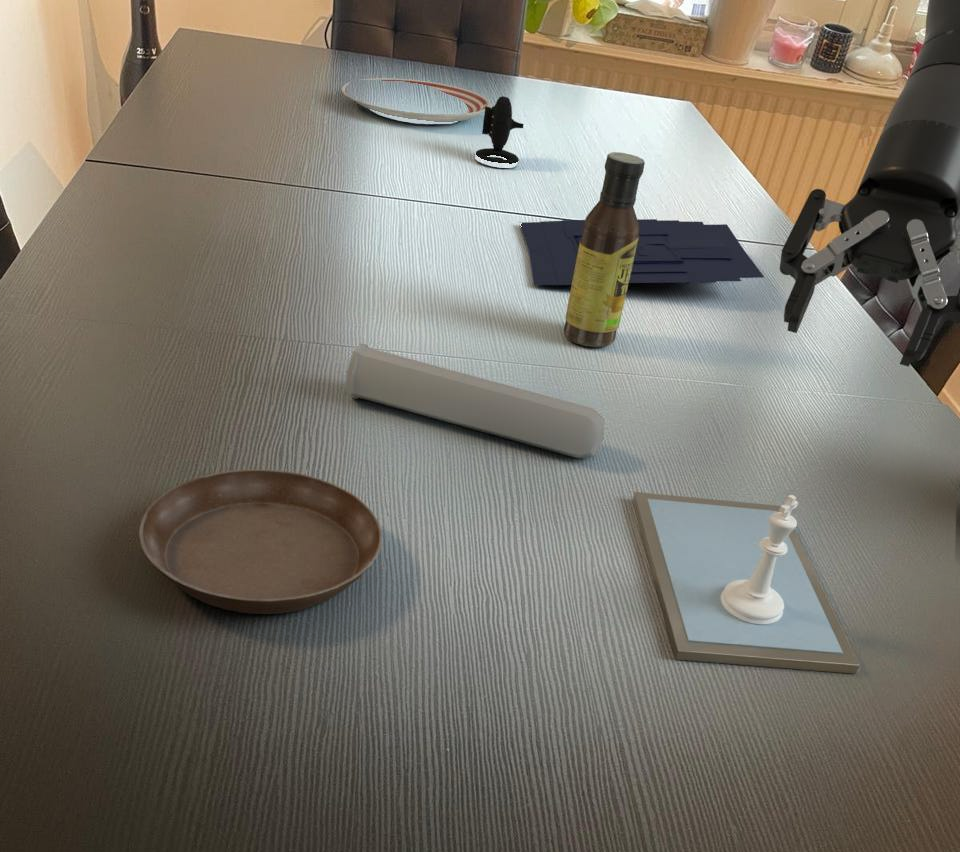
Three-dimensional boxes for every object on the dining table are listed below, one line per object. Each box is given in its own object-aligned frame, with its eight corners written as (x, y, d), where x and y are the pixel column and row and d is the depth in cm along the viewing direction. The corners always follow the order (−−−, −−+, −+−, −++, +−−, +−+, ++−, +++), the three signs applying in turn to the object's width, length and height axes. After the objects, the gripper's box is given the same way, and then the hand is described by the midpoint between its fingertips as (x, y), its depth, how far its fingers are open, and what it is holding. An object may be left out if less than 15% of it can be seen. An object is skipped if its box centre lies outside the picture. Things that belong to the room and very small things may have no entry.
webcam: (474, 153, 174) (482, 88, 167) (518, 159, 174) (527, 95, 168) (472, 165, 168) (480, 99, 161) (517, 172, 168) (527, 106, 162)
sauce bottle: (612, 355, 116) (653, 171, 104) (558, 344, 117) (593, 159, 104) (617, 334, 121) (657, 155, 109) (566, 323, 122) (599, 144, 109)
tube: (614, 407, 97) (370, 342, 101) (607, 413, 92) (351, 344, 96) (599, 462, 99) (361, 395, 103) (592, 470, 94) (341, 400, 98)
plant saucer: (226, 476, 86) (225, 444, 85) (416, 539, 83) (419, 507, 81) (91, 584, 73) (86, 549, 71) (310, 664, 70) (311, 630, 68)
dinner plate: (316, 110, 181) (316, 90, 179) (375, 85, 202) (377, 66, 200) (460, 144, 177) (462, 123, 175) (506, 114, 198) (509, 95, 196)
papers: (764, 304, 131) (770, 276, 129) (532, 307, 130) (534, 278, 128) (720, 239, 150) (724, 213, 148) (517, 241, 149) (518, 215, 146)
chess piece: (707, 599, 80) (745, 489, 74) (745, 579, 83) (784, 472, 76) (758, 633, 77) (801, 522, 71) (794, 611, 80) (839, 503, 74)
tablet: (780, 514, 94) (784, 504, 93) (855, 674, 77) (860, 664, 76) (632, 500, 92) (634, 490, 91) (675, 660, 75) (678, 649, 75)
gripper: (841, 95, 75) (757, 293, 74) (1043, 141, 71) (957, 350, 70) (830, 158, 82) (753, 339, 81) (1012, 203, 78) (935, 393, 77)
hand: (848, 344), depth 75 cm, fingers open, 8 cm apart
